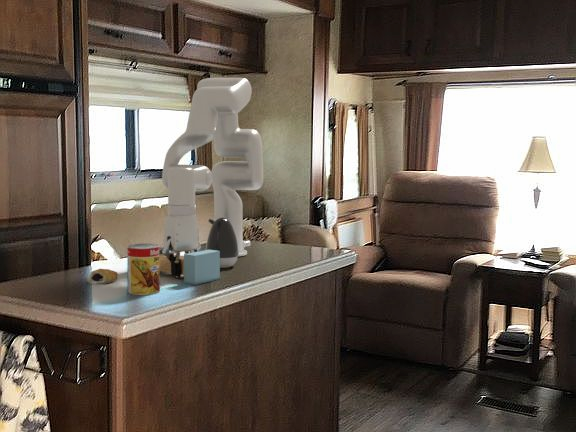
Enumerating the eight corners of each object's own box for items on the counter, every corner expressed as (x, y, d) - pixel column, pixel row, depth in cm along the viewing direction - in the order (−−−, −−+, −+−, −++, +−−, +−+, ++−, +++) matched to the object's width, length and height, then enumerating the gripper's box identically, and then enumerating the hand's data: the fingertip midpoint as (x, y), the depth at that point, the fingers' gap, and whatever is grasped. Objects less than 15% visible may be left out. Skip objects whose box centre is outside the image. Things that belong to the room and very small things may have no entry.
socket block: (209, 277, 198) (209, 249, 198) (219, 279, 196) (219, 251, 195) (184, 283, 190) (184, 254, 189) (194, 285, 188) (194, 255, 187)
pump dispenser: (220, 262, 223) (219, 215, 221) (245, 266, 217) (245, 217, 215) (198, 267, 214) (197, 217, 213) (224, 271, 208) (223, 220, 207)
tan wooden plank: (156, 267, 207) (156, 250, 207) (208, 275, 195) (208, 258, 195) (144, 269, 203) (143, 252, 203) (195, 278, 191) (195, 260, 191)
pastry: (102, 277, 198) (101, 264, 198) (124, 279, 197) (124, 265, 196) (85, 284, 189) (85, 270, 189) (108, 285, 188) (108, 271, 187)
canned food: (161, 294, 177) (160, 247, 175) (129, 295, 175) (128, 248, 173) (158, 287, 184) (157, 242, 183) (127, 289, 182) (126, 243, 181)
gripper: (193, 207, 205) (193, 269, 207) (149, 212, 191) (150, 278, 193) (212, 209, 200) (212, 272, 202) (169, 214, 187) (170, 281, 189)
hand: (182, 274), depth 198 cm, fingers closed on tan wooden plank, 4 cm apart
